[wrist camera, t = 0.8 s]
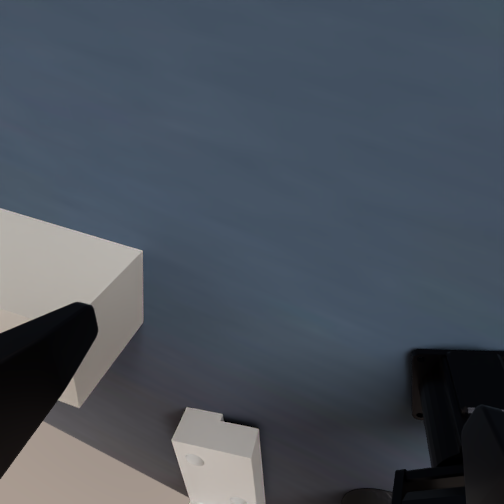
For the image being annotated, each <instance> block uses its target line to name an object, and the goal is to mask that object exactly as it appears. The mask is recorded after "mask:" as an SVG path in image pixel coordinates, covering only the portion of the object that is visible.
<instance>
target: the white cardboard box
mask: <svg viewBox="0 0 504 504" xmlns="http://www.w3.org/2000/svg"><path fill="white" fill-rule="evenodd" d="M74 302H82V303H86V304H90V305H92V306H93V308H94V311H95V315H96V320H97V324H98V334H97V337H96V339H95V341H94V342H93V344H92V346H91V347H90V349H89V351H88V352H87V354H86V356H85V358H84V359H83V361H82V363H81V364H80V366H79V368H78V369H77V371H76V373H75V374H74V376H73V378H72V380H71V381H70V383H69V384H68V386H67V388H66V389H65V391H64V392H63V394H62V395H61V396H60V398H59V399H58V401H61V402H64V403H67V404H69V405H72V406H75V407H78V408H80V407H81V406H82V404H83V403H84V402H85V400H86V399H87V398H88V396H89V395H90V394H91V392H92V391H93V390H94V388H95V387H96V385H97V384H98V383H99V381H100V380H101V379H102V377H103V376H104V375H105V373H106V372H107V371H108V369H109V368H110V367H111V365H112V364H113V363H114V361H115V360H116V359H117V357H118V356H119V354H120V353H121V352H122V350H123V349H124V348H125V346H126V345H127V344H128V342H129V341H130V340H131V338H132V337H133V336H134V334H135V333H136V332H137V330H138V329H139V328H140V326H141V325H142V323H143V251H142V250H138V249H135V248H132V247H128V246H125V245H122V244H118V243H115V242H112V241H108V240H105V239H102V238H98V237H95V236H92V235H88V234H85V233H82V232H78V231H75V230H71V229H68V228H65V227H61V226H58V225H55V224H51V223H48V222H45V221H41V220H38V219H35V218H31V217H28V216H25V215H21V214H18V213H15V212H11V211H8V210H4V209H1V208H0V333H2V332H4V331H7V330H9V329H11V328H14V327H16V326H19V325H21V324H23V323H26V322H28V321H31V320H33V319H35V318H38V317H40V316H43V315H45V314H47V313H50V312H52V311H54V310H57V309H59V308H62V307H64V306H66V305H69V304H71V303H74Z"/></svg>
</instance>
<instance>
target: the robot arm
mask: <svg viewBox="0 0 504 504" xmlns="http://www.w3.org/2000/svg"><path fill="white" fill-rule="evenodd" d="M97 334H98V324H97V320H96V315H95V311H94V308H93V306H92V305H90V304H86V303H82V302H74V303H71V304H69V305H66V306H64V307H62V308H59V309H57V310H54V311H52V312H50V313H47V314H45V315H43V316H40V317H38V318H35V319H33V320H31V321H28V322H26V323H23V324H21V325H19V326H16V327H14V328H11V329H9V330H7V331H4V332H2V333H0V479H1V477H2V476H3V475H4V473H5V472H6V471H7V469H8V468H9V467H10V465H11V464H12V462H13V461H14V460H15V458H16V457H17V456H18V454H19V453H20V451H21V450H22V449H23V447H24V446H25V445H26V443H27V441H28V440H29V439H30V438H31V436H32V435H33V434H34V432H35V431H36V430H37V428H38V427H39V425H40V424H41V423H42V421H43V420H44V419H45V417H46V416H47V414H48V413H49V412H50V410H51V409H52V408H53V406H54V405H55V403H56V402H57V401H58V399H59V398H60V396H61V395H62V394H63V392H64V391H65V389H66V388H67V386H68V384H69V383H70V381H71V380H72V378H73V376H74V374H75V373H76V371H77V369H78V368H79V366H80V364H81V363H82V361H83V359H84V358H85V356H86V354H87V352H88V351H89V349H90V347H91V346H92V344H93V342H94V341H95V339H96V337H97ZM419 357H422V358H419ZM412 415H413V417H414V418H416V419H418V420H424V424H425V431H426V437H427V443H428V449H429V455H430V461H431V467H432V468H424V469H417V470H409V471H407V470H406V469H403V470H396V472H395V479H394V486H393V494H392V502H391V504H504V352H502V351H467V350H432V349H417V350H414V351H413V352H412Z"/></svg>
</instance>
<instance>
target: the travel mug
mask: <svg viewBox="0 0 504 504" xmlns="http://www.w3.org/2000/svg"><path fill="white" fill-rule="evenodd" d="M392 494H393V493H391V492H388V491H384V490H378V489H357V490H353V491H351V492H349V493H347V494H346V495H345V496H344V497H343V499H342V504H391V502H392Z"/></svg>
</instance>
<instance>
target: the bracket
mask: <svg viewBox="0 0 504 504" xmlns="http://www.w3.org/2000/svg"><path fill="white" fill-rule="evenodd" d="M171 441H172V444H173V447H174V450H175V454H176V457H177V460H178V463H179V466H180V470H181V473H182V476H183V479H184V482H185V486H186V489H187V492H188V495H189V499H190V502H189V504H265V503H266V502H265V492H264V481H263V470H262V459H261V448H260V437H259V429H257V428H253V427H248V426H243V425H238V424H233V423H228V422H224V419H223V414H219V413H214V412H209V411H204V410H199V409H194V408H189V407H186V410H185V412H184V414H183V416H182V418H181V420H180V423H179V425H178V427H177V429H176V431H175V433H174V435H173V438H172V440H171Z"/></svg>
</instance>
